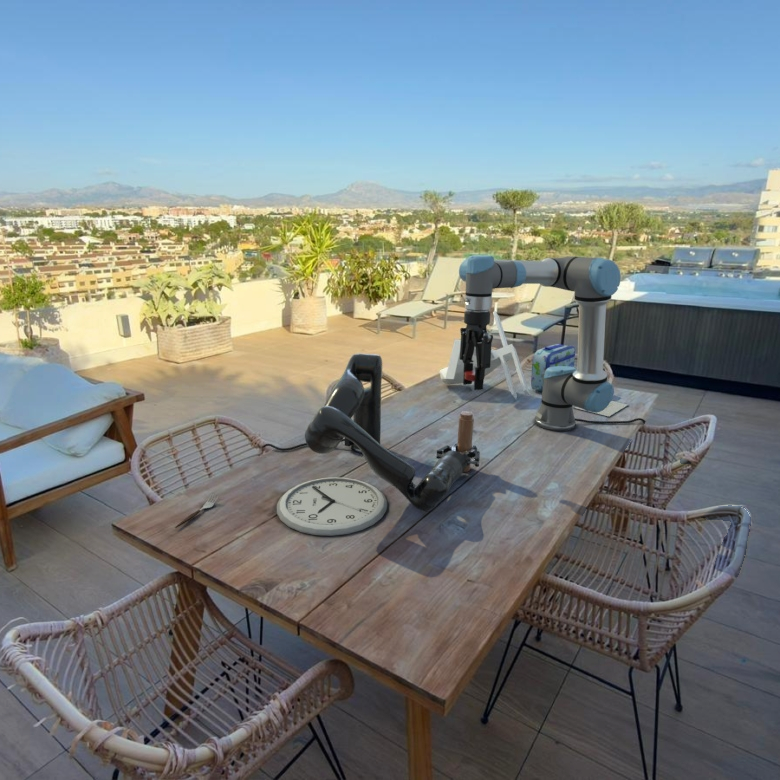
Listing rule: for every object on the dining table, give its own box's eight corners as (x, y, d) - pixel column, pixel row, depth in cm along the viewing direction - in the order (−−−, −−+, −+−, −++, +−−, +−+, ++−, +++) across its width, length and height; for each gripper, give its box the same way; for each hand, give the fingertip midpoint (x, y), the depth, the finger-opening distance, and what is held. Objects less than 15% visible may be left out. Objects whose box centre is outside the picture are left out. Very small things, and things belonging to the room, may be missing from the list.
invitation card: (608, 416, 214) (573, 407, 224) (608, 416, 214) (573, 408, 224) (628, 404, 229) (594, 396, 238) (628, 405, 229) (594, 397, 238)
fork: (171, 528, 130) (170, 521, 130) (212, 499, 145) (211, 492, 144) (179, 530, 129) (178, 523, 129) (220, 500, 144) (219, 494, 143)
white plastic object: (461, 429, 252) (437, 405, 227) (444, 352, 274) (420, 323, 250) (535, 404, 240) (518, 377, 215) (510, 326, 262) (492, 293, 237)
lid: (481, 381, 155) (481, 375, 154) (463, 380, 156) (464, 374, 156) (482, 376, 160) (482, 371, 159) (465, 375, 161) (465, 370, 160)
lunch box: (547, 396, 238) (552, 351, 232) (526, 391, 246) (531, 347, 239) (574, 385, 256) (579, 343, 250) (554, 380, 263) (559, 340, 257)
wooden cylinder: (453, 467, 166) (456, 412, 161) (463, 464, 169) (467, 409, 163) (462, 473, 163) (466, 416, 157) (473, 469, 165) (477, 414, 160)
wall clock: (392, 527, 129) (268, 531, 127) (391, 533, 130) (269, 537, 127) (383, 473, 158) (282, 475, 155) (383, 478, 158) (282, 480, 156)
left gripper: (426, 474, 156) (445, 453, 170) (472, 484, 150) (488, 462, 165) (427, 451, 153) (446, 431, 168) (474, 460, 148) (490, 439, 162)
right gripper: (449, 306, 158) (446, 380, 165) (485, 316, 142) (479, 396, 149) (470, 305, 161) (466, 377, 168) (507, 314, 145) (501, 393, 152)
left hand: (467, 446), depth 166 cm, fingers closed on wooden cylinder, 4 cm apart
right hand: (472, 386), depth 159 cm, fingers closed on lid, 5 cm apart
